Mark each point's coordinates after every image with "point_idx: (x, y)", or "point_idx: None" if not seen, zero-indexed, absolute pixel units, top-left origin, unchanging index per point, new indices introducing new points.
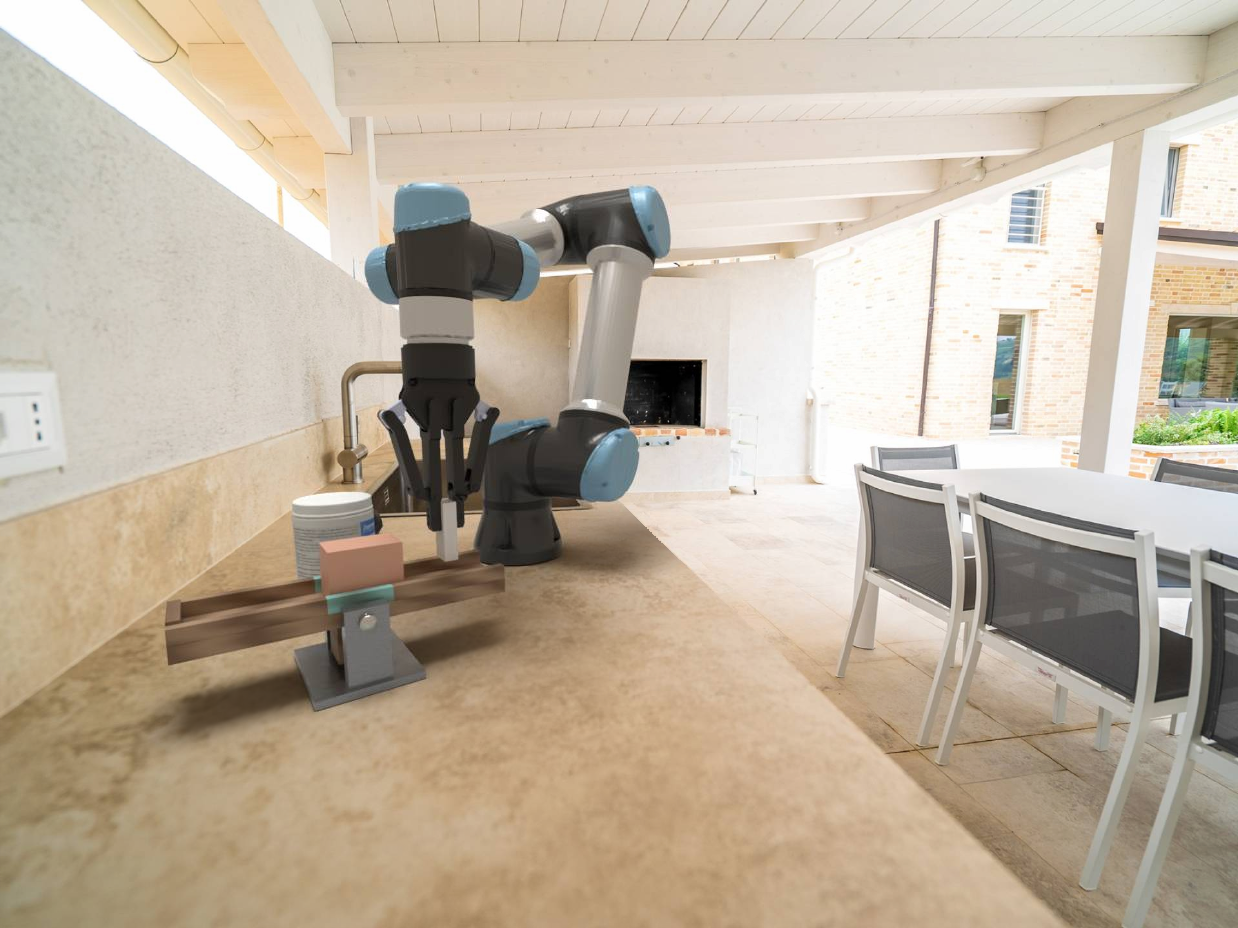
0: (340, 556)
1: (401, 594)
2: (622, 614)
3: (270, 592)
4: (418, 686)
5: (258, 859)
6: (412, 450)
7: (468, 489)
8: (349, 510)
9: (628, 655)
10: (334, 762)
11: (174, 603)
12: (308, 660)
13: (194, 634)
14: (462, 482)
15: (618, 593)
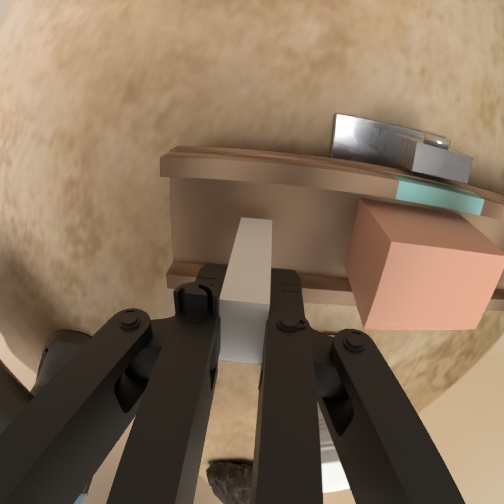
0: (488, 249)
1: (380, 173)
2: (46, 128)
3: None
4: (350, 102)
5: (498, 3)
6: (409, 500)
7: (154, 332)
8: (331, 451)
9: (101, 21)
10: (454, 44)
11: None
12: None
13: None
14: (172, 347)
15: (26, 191)
